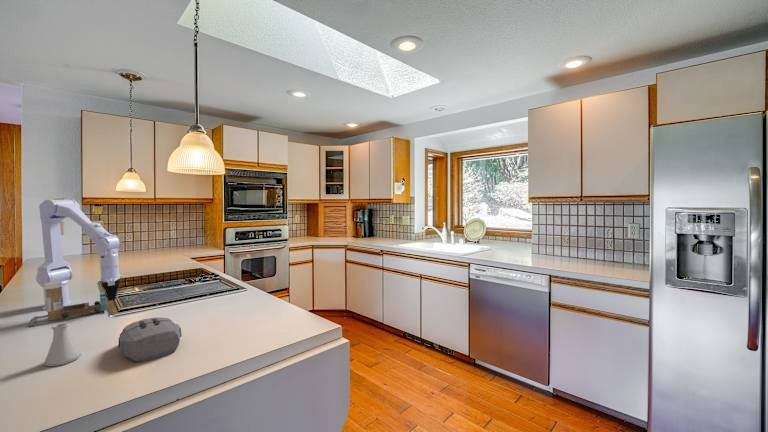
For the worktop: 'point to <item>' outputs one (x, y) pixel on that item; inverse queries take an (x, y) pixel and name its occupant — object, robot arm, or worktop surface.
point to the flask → (61, 347)
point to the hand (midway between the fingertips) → (112, 299)
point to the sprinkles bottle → (54, 299)
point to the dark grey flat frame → (58, 320)
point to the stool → (84, 308)
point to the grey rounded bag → (149, 339)
